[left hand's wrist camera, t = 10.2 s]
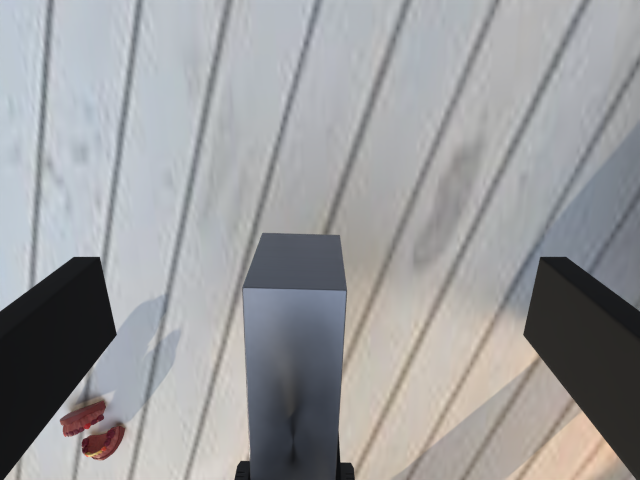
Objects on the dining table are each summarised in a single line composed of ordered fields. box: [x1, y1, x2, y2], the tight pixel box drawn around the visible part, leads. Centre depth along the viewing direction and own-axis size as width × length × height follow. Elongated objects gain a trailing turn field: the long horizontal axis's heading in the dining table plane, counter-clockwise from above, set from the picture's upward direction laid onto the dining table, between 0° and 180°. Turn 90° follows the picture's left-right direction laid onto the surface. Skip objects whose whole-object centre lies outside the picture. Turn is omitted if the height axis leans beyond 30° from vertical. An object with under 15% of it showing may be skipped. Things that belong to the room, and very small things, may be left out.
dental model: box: [60, 401, 125, 460], centre depth 55 cm, size 6×4×8 cm
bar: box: [242, 233, 347, 480], centre depth 32 cm, size 23×6×9 cm, turn 178°
